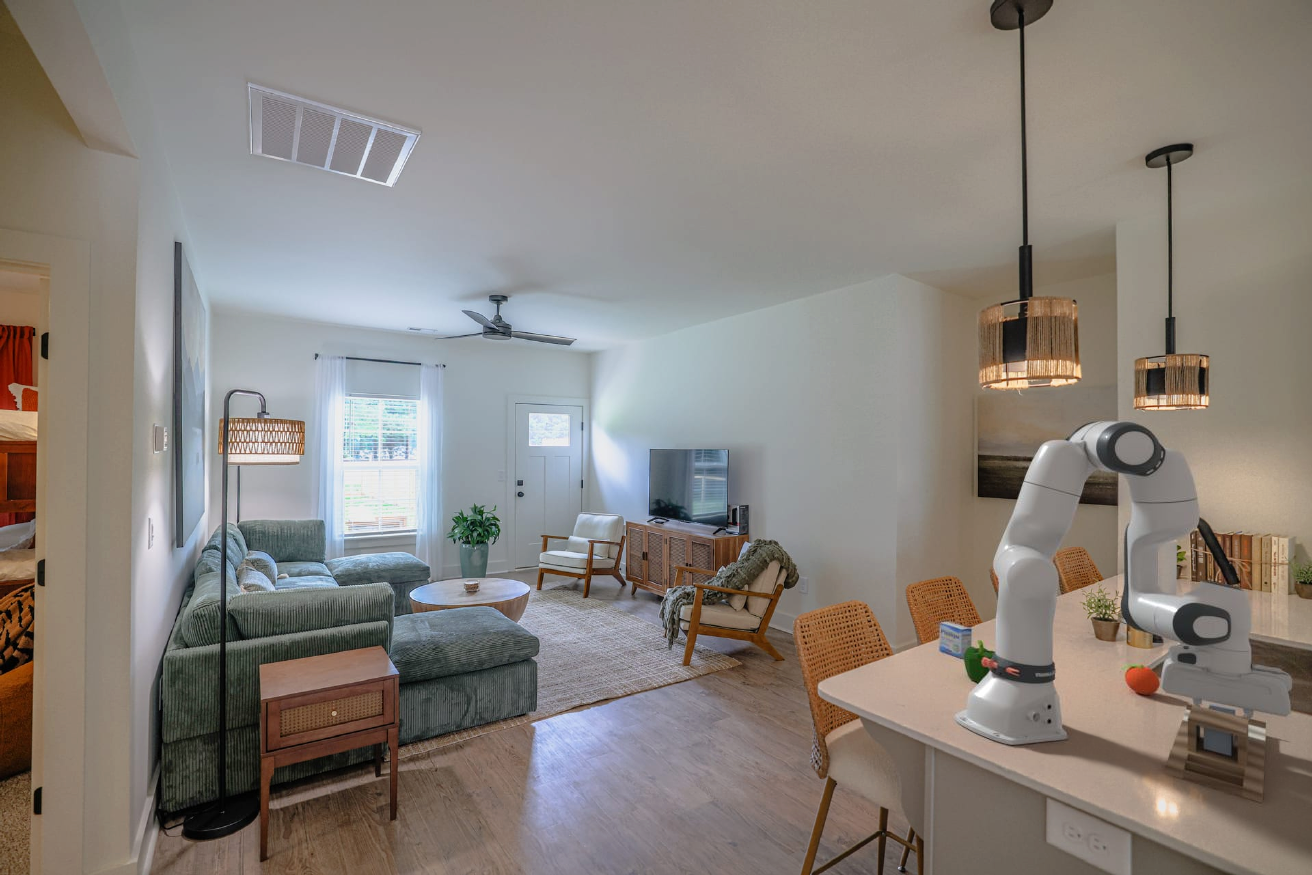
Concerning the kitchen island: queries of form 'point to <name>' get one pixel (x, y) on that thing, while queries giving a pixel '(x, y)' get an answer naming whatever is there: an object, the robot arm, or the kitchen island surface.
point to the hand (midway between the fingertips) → (1222, 724)
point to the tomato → (1141, 679)
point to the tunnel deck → (1215, 768)
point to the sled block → (1219, 735)
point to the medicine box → (954, 639)
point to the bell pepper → (976, 662)
